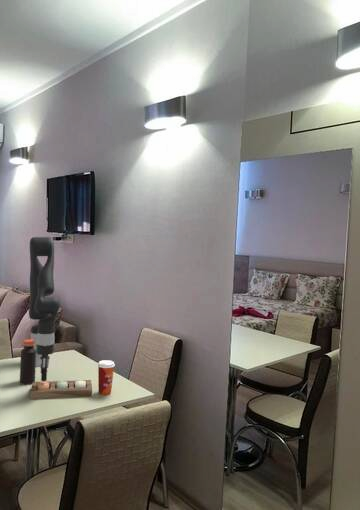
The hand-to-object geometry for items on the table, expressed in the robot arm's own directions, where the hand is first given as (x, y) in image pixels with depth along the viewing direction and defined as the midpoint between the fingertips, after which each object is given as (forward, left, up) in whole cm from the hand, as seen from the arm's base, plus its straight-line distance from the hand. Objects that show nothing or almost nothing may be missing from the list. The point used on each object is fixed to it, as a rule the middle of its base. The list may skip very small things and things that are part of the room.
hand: (43, 380), depth 181 cm
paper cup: (+2, +27, -6) cm, 28 cm away
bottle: (-14, -8, -6) cm, 17 cm away
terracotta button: (0, 0, -5) cm, 5 cm away
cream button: (0, +16, -5) cm, 17 cm away
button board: (0, +8, -6) cm, 10 cm away
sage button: (0, +8, -5) cm, 10 cm away
